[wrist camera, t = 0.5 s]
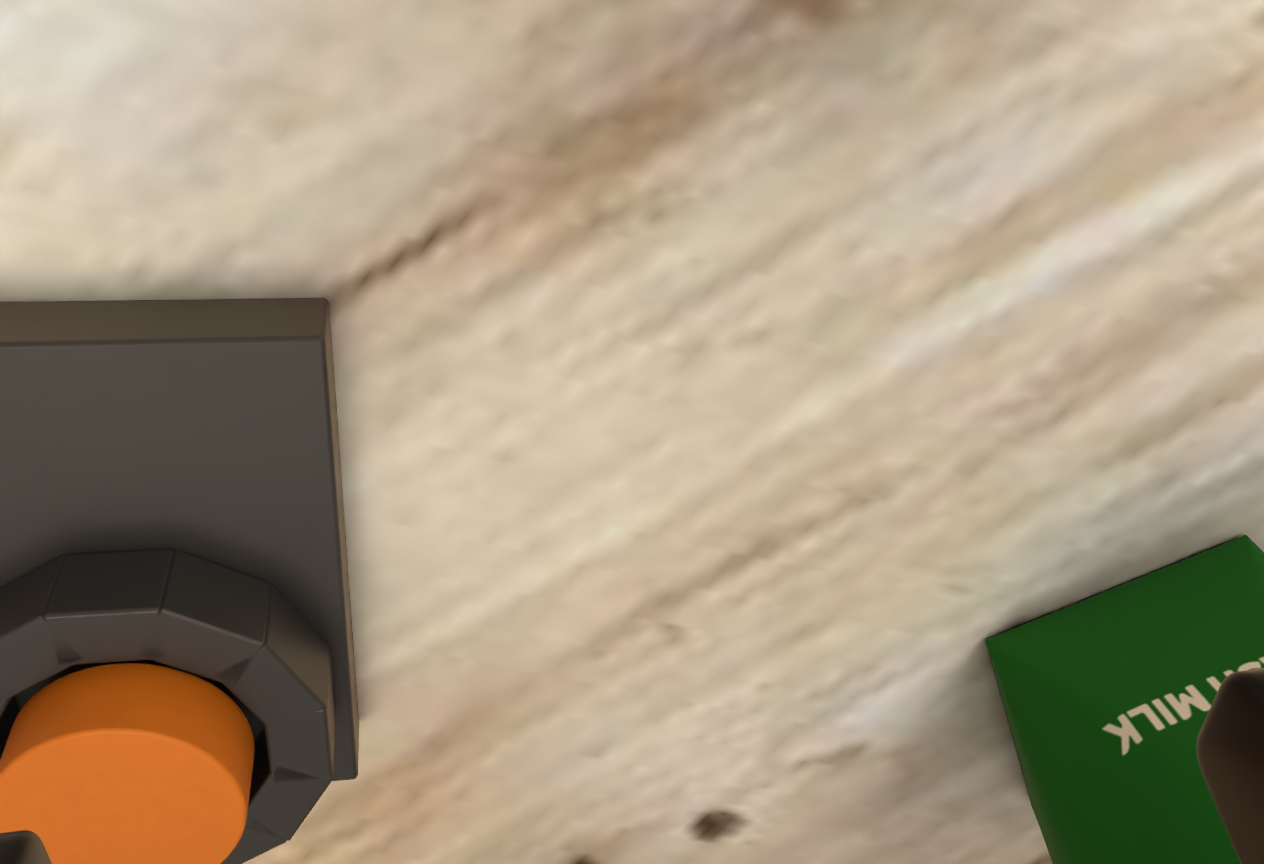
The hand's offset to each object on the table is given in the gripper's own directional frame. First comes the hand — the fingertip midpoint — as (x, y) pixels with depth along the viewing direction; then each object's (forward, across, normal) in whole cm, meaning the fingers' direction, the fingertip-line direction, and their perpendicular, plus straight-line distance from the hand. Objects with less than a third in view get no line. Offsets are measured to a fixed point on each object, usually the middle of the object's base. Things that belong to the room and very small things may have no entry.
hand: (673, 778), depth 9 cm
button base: (+14, +8, +9) cm, 18 cm away
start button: (+11, +8, +11) cm, 17 cm away
